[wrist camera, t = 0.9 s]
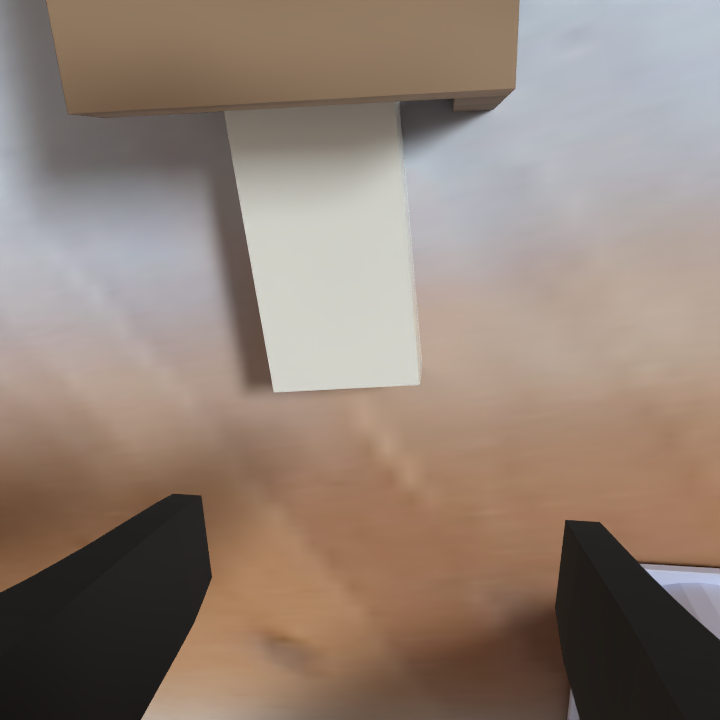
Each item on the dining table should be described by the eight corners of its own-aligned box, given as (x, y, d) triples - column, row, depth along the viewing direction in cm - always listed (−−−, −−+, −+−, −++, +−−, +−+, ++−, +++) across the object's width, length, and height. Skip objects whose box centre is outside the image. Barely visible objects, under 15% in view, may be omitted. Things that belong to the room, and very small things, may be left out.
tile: (422, 361, 21) (419, 384, 19) (290, 370, 22) (274, 392, 20) (399, 91, 18) (392, 84, 16) (247, 113, 19) (223, 108, 17)
